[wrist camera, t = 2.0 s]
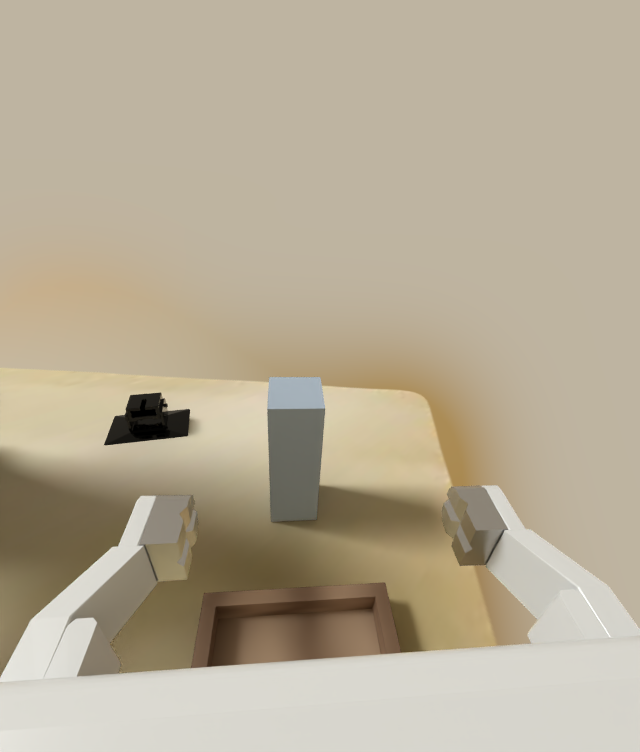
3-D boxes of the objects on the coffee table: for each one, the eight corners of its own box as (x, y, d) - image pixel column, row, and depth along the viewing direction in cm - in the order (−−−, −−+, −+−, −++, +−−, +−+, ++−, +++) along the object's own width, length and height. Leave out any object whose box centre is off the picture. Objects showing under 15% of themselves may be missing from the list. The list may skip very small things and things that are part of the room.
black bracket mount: (89, 454, 43) (77, 424, 40) (105, 415, 49) (95, 387, 46) (200, 442, 45) (196, 413, 43) (202, 406, 51) (198, 379, 49)
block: (270, 521, 36) (267, 409, 28) (272, 485, 40) (269, 377, 32) (316, 519, 36) (325, 408, 29) (313, 484, 40) (320, 377, 33)
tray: (156, 927, 17) (146, 926, 16) (207, 609, 29) (204, 593, 28) (441, 886, 19) (453, 882, 17) (380, 598, 30) (385, 582, 29)
